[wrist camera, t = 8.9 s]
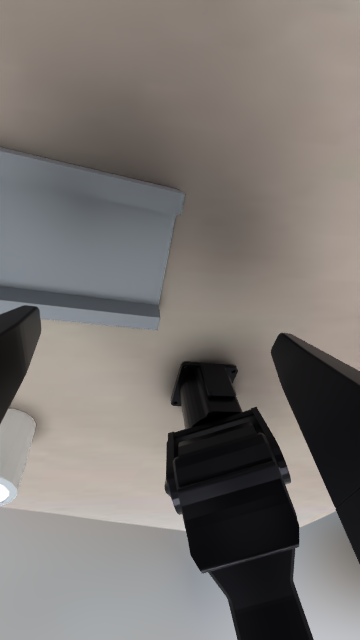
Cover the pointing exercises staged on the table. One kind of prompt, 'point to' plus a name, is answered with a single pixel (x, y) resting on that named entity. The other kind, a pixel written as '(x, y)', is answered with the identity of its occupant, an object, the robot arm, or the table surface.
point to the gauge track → (83, 242)
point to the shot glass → (14, 451)
